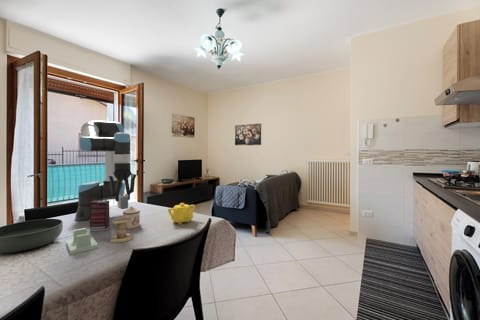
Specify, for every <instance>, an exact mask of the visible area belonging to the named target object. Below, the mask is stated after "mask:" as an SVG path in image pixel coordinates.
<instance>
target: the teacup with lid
mask: <svg viewBox="0 0 480 320" xmlns="http://www.w3.org/2000/svg"><path fill="white" fill-rule="evenodd" d="M140 213H141V210H140V209H139V208H136V207H134V206H132V205H131V206H129V207H128V208H127V209H124V210H123V211H122V217H130V221H129V222H127V229H128V230H129V229H136V228H138V227H140V224H141V223H140V220H141V219H140Z"/></svg>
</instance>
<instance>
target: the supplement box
mask: <svg viewBox="0 0 480 320" xmlns="http://www.w3.org/2000/svg"><path fill="white" fill-rule="evenodd" d="M89 206H90V220H89V231H90V232H96V231H97V232H98V231H107V230H108V229H110V228H111V227H110V226H111V225H110V222H111V221H110V220H111V219H110V200H101V201H92V202H90V203H89Z"/></svg>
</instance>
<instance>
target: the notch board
mask: <svg viewBox="0 0 480 320" xmlns="http://www.w3.org/2000/svg"><path fill="white" fill-rule="evenodd" d="M72 231H73V232H72V233H73V239H70V240H66V246H67V248H68V249H67V250H68V252H69V254H70V255H74V254H77V253H81V252H85V251H88V250H89V251H90V250H93V249H98V248H99V244H98V243H97V241H96V240H95V237H94V236H92V234H91V232H88V229H87V227H83V228H78V229H73V230H72Z"/></svg>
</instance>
